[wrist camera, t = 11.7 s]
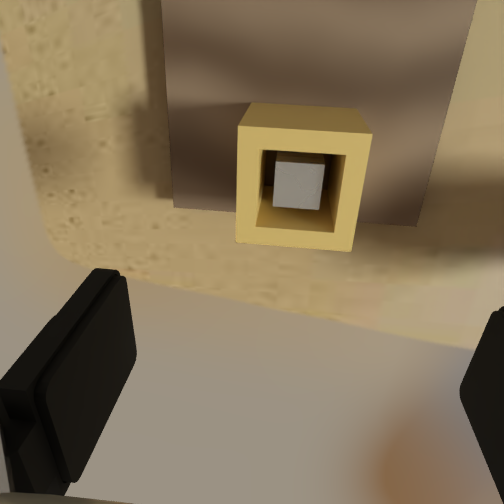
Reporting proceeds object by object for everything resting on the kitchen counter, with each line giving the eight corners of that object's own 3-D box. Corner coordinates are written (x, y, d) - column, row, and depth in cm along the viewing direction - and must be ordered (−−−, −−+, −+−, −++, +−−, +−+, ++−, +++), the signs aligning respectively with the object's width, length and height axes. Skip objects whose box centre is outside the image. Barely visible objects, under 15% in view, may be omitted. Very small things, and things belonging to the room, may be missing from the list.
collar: (251, 102, 24) (237, 125, 18) (356, 108, 23) (372, 134, 18) (248, 198, 26) (235, 242, 21) (340, 205, 26) (350, 251, 21)
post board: (160, -147, 20) (105, -214, 14) (503, -141, 19) (591, -211, 13) (179, 198, 29) (150, 242, 23) (410, 216, 28) (439, 267, 22)
